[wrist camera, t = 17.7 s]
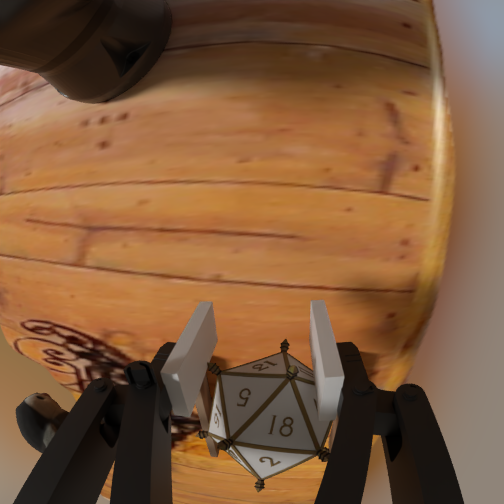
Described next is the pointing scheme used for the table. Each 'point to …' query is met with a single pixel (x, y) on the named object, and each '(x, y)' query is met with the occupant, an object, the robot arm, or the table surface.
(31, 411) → the black rounded lump
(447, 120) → the table surface
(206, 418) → the walnut channel
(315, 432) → the game die
